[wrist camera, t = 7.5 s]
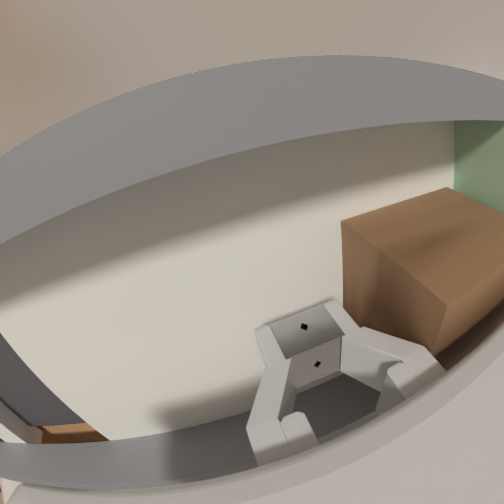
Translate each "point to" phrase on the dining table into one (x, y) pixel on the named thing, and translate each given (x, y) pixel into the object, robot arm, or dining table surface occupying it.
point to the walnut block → (427, 272)
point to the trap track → (207, 251)
